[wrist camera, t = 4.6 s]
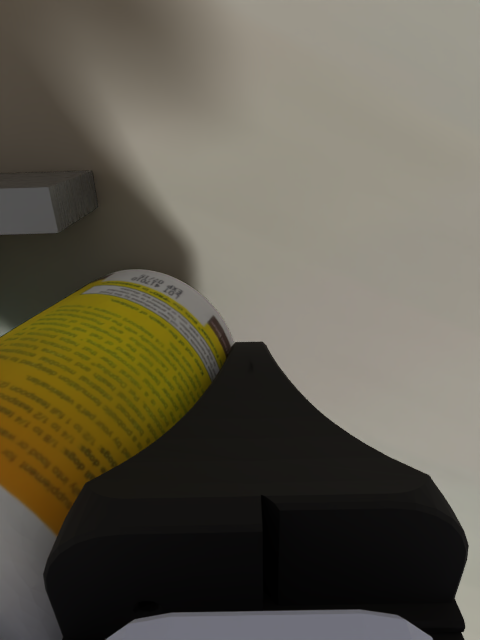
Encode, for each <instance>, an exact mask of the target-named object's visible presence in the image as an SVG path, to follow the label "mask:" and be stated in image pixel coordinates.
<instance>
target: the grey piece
mask: <svg viewBox="0 0 480 640" xmlns="http://www.w3.org/2000/svg"><path fill="white" fill-rule="evenodd" d="M97 207H98V203H97V197H96V191H95V186H94V180H93V174H92V171H67V172H35V173H2V174H0V235H6V234H40V233H59V232H61V231H62V230H64V229H65V228H67V227H68V226H70V225H71V224H73V223H74V222H76V221H77V220H79V219H81V218H82V217H84V216H85V215H87V214H88V213H90V212H91V211H93V210H94V209H96V208H97Z"/></svg>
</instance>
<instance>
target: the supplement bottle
mask: <svg viewBox="0 0 480 640" xmlns="http://www.w3.org/2000/svg"><path fill="white" fill-rule="evenodd" d="M233 344H234V341H233V338H232V336H231V333H230V331H229V329H228V327H227V325H226V323H225V321H224V320H223V318H222V317H221V315H220V314H219V312H218V311H217V310H216V309H215V307H214V306H213V305H212V304H211V303H210V302H209V301H208V300H207V299H206V298H205V297H204V296H203V295H201V294H200V293H199V292H198V291H196V290H195V289H194V288H192V287H191V286H189V285H188V284H186V283H184V282H182V281H180V280H179V279H176V278H174V277H172V276H169V275H167V274H164V273H160V272H156V271H151V270H143V269H129V270H122V271H117V272H113V273H110V274H108V275H105V276H103V277H101V278H99V279H97V280H95V281H93V282H91V283H89V284H87V285H86V286H84V287H83V288H81V289H80V290H78V291H76V292H75V293H73V294H71V295H70V296H68V297H66V298H65V299H63V300H61V301H60V302H58V303H56V304H55V305H53V306H51V307H49V308H48V309H46V310H44V311H43V312H41V313H39V314H38V315H36V316H34V317H33V318H31V319H29V320H28V321H26V322H24V323H23V324H21V325H19V326H18V327H16V328H14V329H12V330H11V331H9V332H8V333H6V334H4V335H3V336H1V337H0V640H62V638H63V636H62V633H61V630H60V628H59V625H58V622H57V620H56V617H55V614H54V611H53V609H52V606H51V603H50V601H49V598H48V595H47V593H46V590H45V585H44V578H43V572H44V569H45V565H46V562H47V559H48V557H49V554H50V552H51V550H52V547H53V545H54V543H55V540H56V538H57V536H58V533H59V531H60V529H61V526H62V524H63V522H64V520H65V518H66V516H67V514H68V512H69V510H70V509H71V507H72V505H73V503H74V502H75V500H76V499H77V497H78V495H79V493H80V492H81V490H82V488H83V486H84V485H85V483H86V482H88V481H90V480H92V479H94V478H96V477H98V476H100V475H101V474H103V473H105V472H107V471H109V470H111V469H112V468H114V467H116V466H118V465H120V464H121V463H123V462H125V461H126V460H128V459H130V458H131V457H133V456H134V455H136V454H137V453H139V452H140V451H142V450H143V449H145V448H146V447H148V446H149V445H150V444H152V443H153V442H155V441H156V440H157V439H159V438H160V437H161V436H162V435H163V434H165V433H166V432H167V431H168V430H169V429H170V428H171V427H173V426H174V425H175V424H176V423H177V422H178V421H179V420H180V419H181V418H182V417H183V416H184V415H185V414H186V413H187V412H188V411H189V410H190V409H191V408H192V407H193V406H194V404H195V403H196V402H197V401H198V400H199V399H200V397H201V396H202V395H203V393H204V392H205V391H206V389H207V388H208V387H209V386H210V384H211V383H212V381H213V380H214V378H215V377H216V375H217V374H218V372H219V371H220V369H221V367H222V366H223V364H224V362H225V360H226V358H227V356H228V354H229V352H230V350H231V346H232V345H233Z"/></svg>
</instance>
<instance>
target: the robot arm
mask: <svg viewBox="0 0 480 640" xmlns="http://www.w3.org/2000/svg"><path fill="white" fill-rule="evenodd" d="M468 546H469V545H468V542H467V539H466V536H465V532H464V530H463V528H462V526H461V525H460V523H459V521H458V519H457V517H456V515H455V513H454V512H453V510H452V508H451V507H450V505H449V504H448V502H447V500H446V499H445V497H444V496H443V494H442V493H441V492H440V490H439V489H438V488H437V486H436V485H435V483H434V482H433V480H432V479H431V477H430V476H429V475H427V474H425V473H423V472H421V471H419V470H416V469H414V468H412V467H410V466H408V465H406V464H403V463H401V462H399V461H397V460H395V459H392V458H390V457H388V456H386V455H384V454H383V453H381V452H379V451H377V450H376V449H374V448H372V447H370V446H368V445H367V444H365V443H363V442H362V441H360V440H358V439H357V438H355V437H354V436H352V435H350V434H349V433H348V432H346V431H345V430H343V429H342V428H340V427H339V426H338V425H336V424H335V423H333V422H332V421H331V420H329V419H328V418H327V417H326V416H324V415H323V414H322V413H321V412H320V411H319V410H317V409H316V408H315V407H314V406H313V405H312V404H311V403H310V402H309V401H308V400H307V399H306V398H305V397H304V396H303V395H302V394H301V393H300V392H299V391H298V390H297V388H296V387H295V386H294V385H293V384H292V383H291V381H290V380H289V379H288V378H287V376H286V375H285V374H284V373H283V371H282V370H281V369H280V367H279V366H278V364H277V363H276V361H275V360H274V358H273V357H272V355H271V354H270V352H269V350H268V348H267V346H266V345H265V344H264V343H263V342H235V343H234V344H233V345H232V346H231V350H230V352H229V354H228V356H227V358H226V360H225V362H224V364H223V366H222V367H221V369H220V371H219V372H218V374H217V375H216V377H215V378H214V380H213V381H212V383H211V384H210V386H209V387H208V388H207V389H206V391H205V392H204V393H203V395H202V396H201V397H200V399H199V400H198V401H197V402H196V403H195V404H194V406H193V407H192V408H191V409H190V410H189V411H188V412H187V413H186V414H185V415H184V416H183V417H182V418H181V419H180V420H179V421H178V422H177V423H176V424H175V425H174V426H173V427H171V428H170V429H169V430H168V431H167V432H166V433H165V434H163V435H162V436H161V437H160V438H159V439H157V440H156V441H155V442H153V443H152V444H150V445H149V446H148V447H146V448H145V449H143V450H142V451H140V452H139V453H137V454H136V455H134V456H133V457H131V458H130V459H128V460H126V461H125V462H123V463H121V464H120V465H118V466H116V467H114V468H112V469H111V470H109V471H107V472H105V473H103V474H101V475H100V476H98V477H96V478H94V479H92V480H90V481H88V482H86V483H85V485H84V486H83V488H82V490H81V492H80V493H79V495H78V497H77V499H76V500H75V502H74V503H73V505H72V507H71V509H70V510H69V512H68V514H67V516H66V518H65V520H64V522H63V524H62V526H61V529H60V531H59V533H58V536H57V538H56V540H55V543H54V545H53V547H52V550H51V552H50V554H49V557H48V559H47V562H46V565H45V569H44V572H43V578H44V585H45V590H46V593H47V595H48V598H49V601H50V603H51V606H52V609H53V611H54V614H55V617H56V620H57V622H58V625H59V628H60V630H61V633H62V636H63V638H62V640H464V638H463V635H462V633H461V632H464V629H465V623H464V619H463V617H462V614H461V612H460V610H459V608H458V605H457V603H456V601H455V599H454V598H455V595H456V592H457V589H458V586H459V583H460V580H461V577H462V574H463V571H464V567H465V564H466V561H467V555H468Z"/></svg>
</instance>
